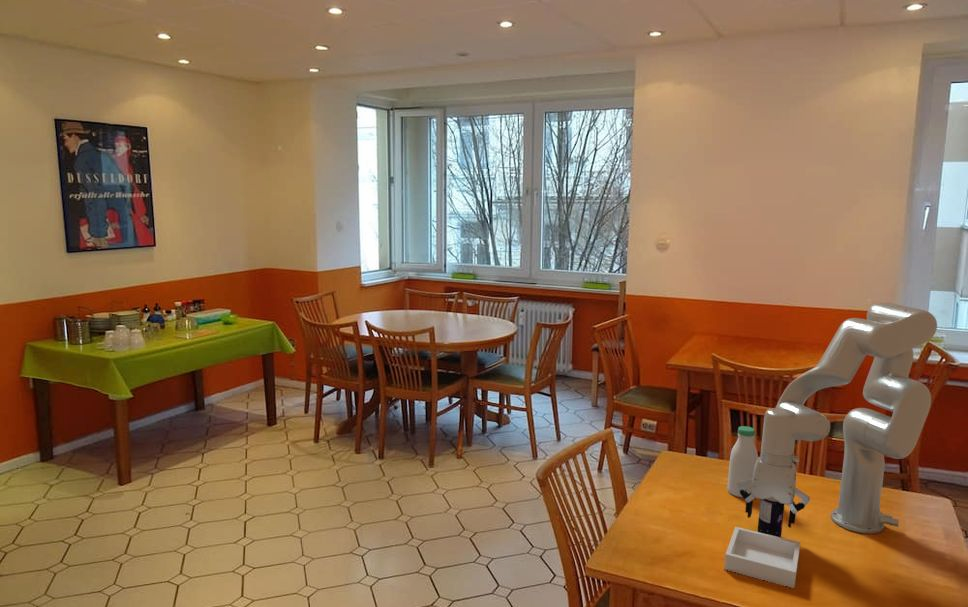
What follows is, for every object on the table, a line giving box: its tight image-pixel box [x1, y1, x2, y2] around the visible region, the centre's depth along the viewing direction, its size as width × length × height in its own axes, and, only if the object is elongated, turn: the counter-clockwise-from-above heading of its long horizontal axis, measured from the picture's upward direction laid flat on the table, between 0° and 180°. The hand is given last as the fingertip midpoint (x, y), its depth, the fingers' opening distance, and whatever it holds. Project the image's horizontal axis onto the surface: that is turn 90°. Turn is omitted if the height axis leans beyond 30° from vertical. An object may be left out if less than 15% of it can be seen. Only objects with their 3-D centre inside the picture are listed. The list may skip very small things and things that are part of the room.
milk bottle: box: [727, 425, 759, 499], centre depth 195 cm, size 8×8×20 cm
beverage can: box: [757, 496, 785, 538], centre depth 171 cm, size 6×6×12 cm
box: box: [724, 526, 801, 589], centre depth 159 cm, size 15×15×4 cm
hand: (769, 520), depth 171 cm, fingers open, 9 cm apart
